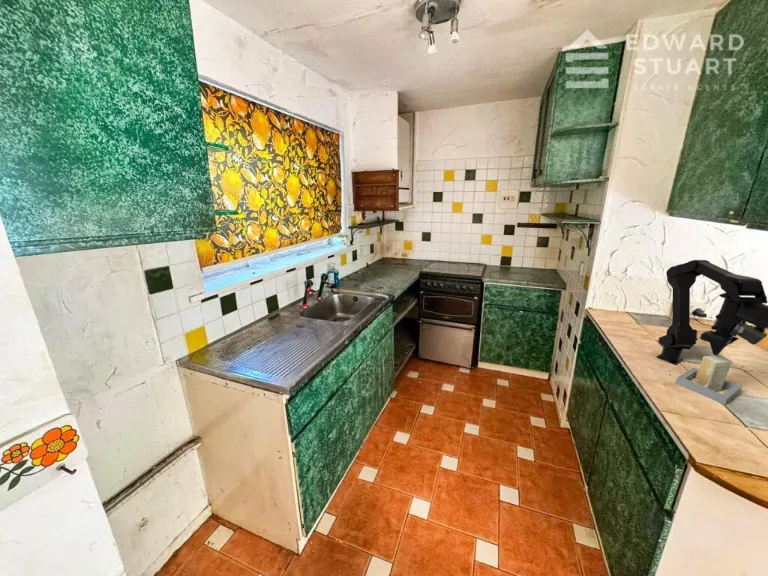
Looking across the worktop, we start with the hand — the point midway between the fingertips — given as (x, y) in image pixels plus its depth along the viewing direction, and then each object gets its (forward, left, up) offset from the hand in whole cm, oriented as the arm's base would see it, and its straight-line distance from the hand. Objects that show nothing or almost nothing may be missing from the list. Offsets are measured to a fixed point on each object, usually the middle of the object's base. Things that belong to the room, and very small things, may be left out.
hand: (715, 354), depth 106 cm
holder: (+1, +1, -13) cm, 13 cm away
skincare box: (+1, +1, -13) cm, 13 cm away
